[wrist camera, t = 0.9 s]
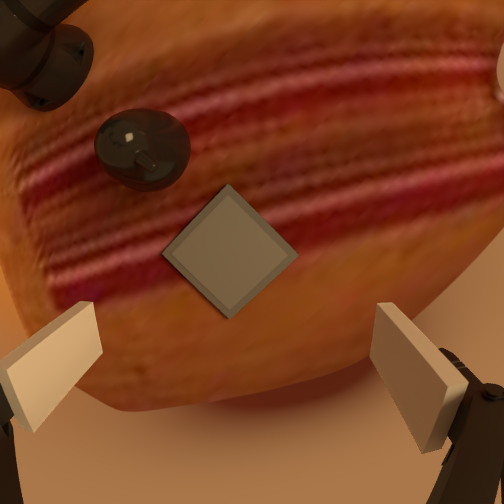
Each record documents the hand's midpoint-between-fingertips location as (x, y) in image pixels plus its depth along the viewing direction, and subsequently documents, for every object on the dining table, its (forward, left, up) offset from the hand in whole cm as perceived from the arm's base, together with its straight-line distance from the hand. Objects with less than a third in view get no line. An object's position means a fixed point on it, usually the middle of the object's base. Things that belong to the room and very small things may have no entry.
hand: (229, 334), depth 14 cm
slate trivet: (-1, -4, -29) cm, 29 cm away
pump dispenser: (-17, -1, -29) cm, 34 cm away
